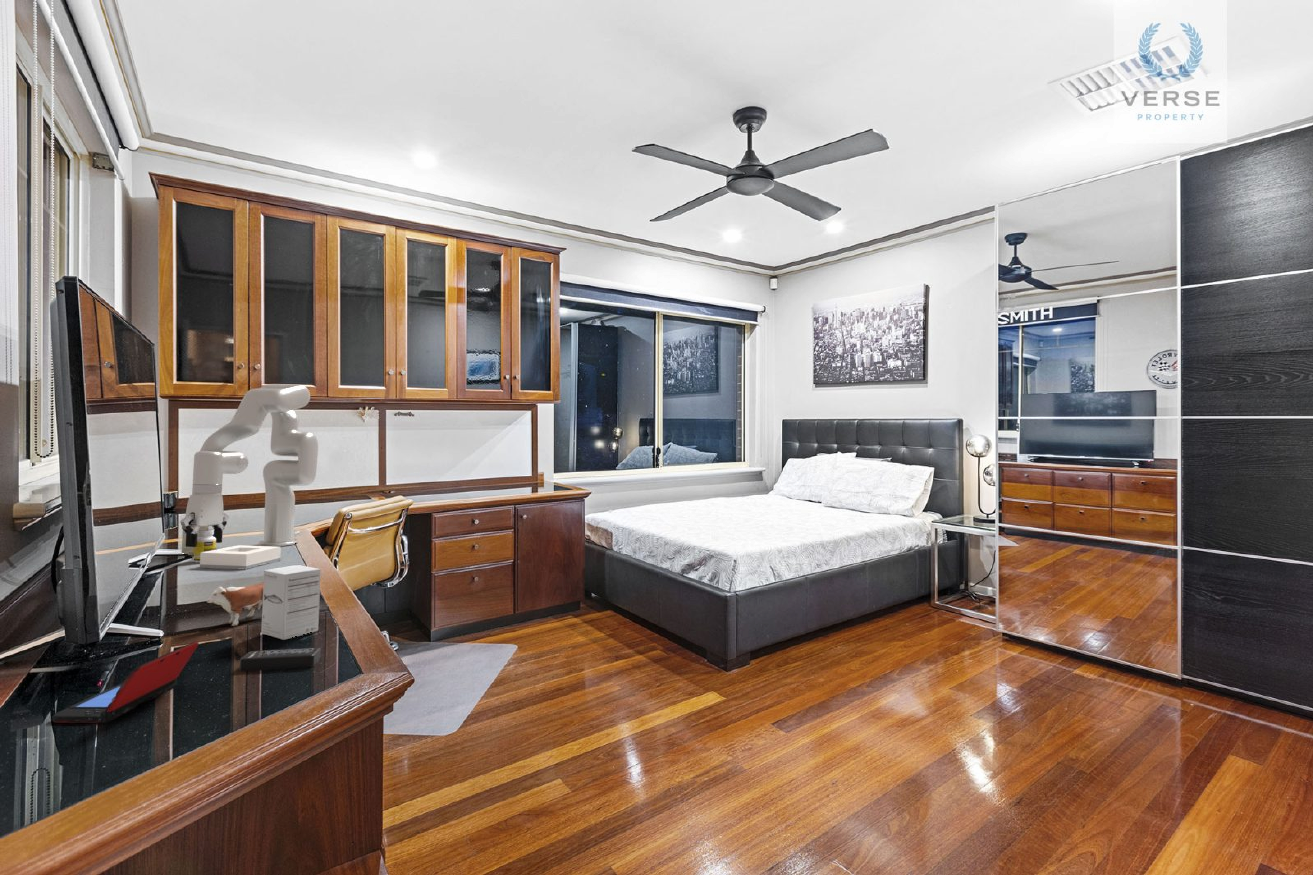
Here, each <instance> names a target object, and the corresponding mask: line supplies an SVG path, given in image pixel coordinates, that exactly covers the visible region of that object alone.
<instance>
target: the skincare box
mask: <svg viewBox="0 0 1313 875" xmlns="http://www.w3.org/2000/svg"><path fill="white" fill-rule="evenodd" d="M209 527H210V526H206V527H199V529H198V530H197V532H196V533H195V534H197V537H199V535H198V531H199V530H209ZM193 528H194V527H192V529H193ZM181 540H182V541H181V554H182V553H184V554H188V555H187V556H194V547H186V534H185V533H184V530H183V529H182V539H181Z"/></svg>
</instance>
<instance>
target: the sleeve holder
mask: <svg viewBox="0 0 1313 875" xmlns="http://www.w3.org/2000/svg"><path fill="white" fill-rule="evenodd" d="M281 549H282V546H260V545H243V544H242V545H240V544H238V545H233V546H226V547H223V548H218V549H216V550H211V551H206V552H201V553H200V563H199V568H200V569H223V570H224V569H226V570H239V569H238V568H250V569H252V568H251V567H254V566H257V565H259V564H263V563H270V562H274V563H276V562H275V561H278V562H280V561H281V559H282V558H281V556H282V553H281V552H282V550H281ZM279 560H280V561H279ZM270 564H271V563H270ZM254 568H255V567H254Z"/></svg>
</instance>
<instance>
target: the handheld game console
mask: <svg viewBox="0 0 1313 875" xmlns="http://www.w3.org/2000/svg"><path fill="white" fill-rule="evenodd" d="M198 646H199V642H198V641H197V640H196V641H192V642H190V643H188V644H185V645H183V646H181V647H179V648H177V649H174V650H172V651H170V652H168V653H166V654H163V655H161V656H158V657H157V658H154V659H152V660H150V661H147V662H145V663H143V664H141V665H139V666H136V667H134V669H133V670H131V672H129V673H128V675H127V676H126V678H125V680H124V681H123V682H122V683H119V684H117V685H114V686H112V687H110V688H108V689H105V690H102V691H100V692H98V693H97V694H94V695H93V696H90V697H88V698H85V699H83V700H82V701H79V702H77V703H75V704H72V705H70V706H68V707H67V708H65V709H63V710H61V711H58V712H56V713H55V714H53V715H52V722H54V723H55V724H56V723H58V724H59V723H60V724H62V723H63V724H64V723H65V724H66V723H67V724H75V723H76V724H81V723H84V724H88V723H89V724H90V723H92V724H95V723H96V724H97V723H99V724H107V723H109V722H112V721H113V720H115V719H117V718H119V717H120V716H122V715H125V714H126V713H128V712H130V711H132V710H133V709H136V707H138V706H139V705H141V704H143V703H146V702H148V701H150V700H153V699H155V698H157V697H159V696H161V695H163V694H165V693H167V692H169V691H171V690H174V689H175V688H176V687H177V678H178V677H179V676H180V674H181V672H182V671H183V669H184V668H185V666H186V665H187V663H188V662H189V660H190V659H191V657H192V655H193V654H194V653H195V651H196V650H197V648H198Z"/></svg>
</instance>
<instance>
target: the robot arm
mask: <svg viewBox="0 0 1313 875" xmlns="http://www.w3.org/2000/svg"><path fill="white" fill-rule="evenodd" d="M310 401H311V393H310V389H308V387H306V386H305V385H302V384H294V383H293V384H292V383H291V384H289V383H269V384H264V385H262V386H261V387H260V388H257V387H256V388H252V389H249V390H247V392H246V393H245V394H244V396H243V398H242V400H241V402H240V403H239V405H238V407H237V409H236V411H235V413H234V415H233V416H232V418H231V420H230V421H229V422H228V423H226V424H224V425H223V426H222V427H220V428H219V429H218V430H215V432H213V433H211V434H210V435H209V436H208V438H206V439H205V441H204V442H203V444H202V446H201V448H200V450H199V451H196V452H195V453H194V456H193V468H192V469H193V470H192V486H191V487H192V488H191V492H192V493H191V494H190V495H189V498H188V500H187V503H186V504H187V506H186V511H185V517H183V518H182V519H180V521H179V523H180V526H181V530H182V531H183V530H184V533H185V534H186V547H196V546H197V534H195V533H196V532H197V530H198V529H199V527H206V526H209V527H212V530H214V535H213V537H215V538H216V544H220V543H222V542H223V535H224V534H223V532H224V530H225V527H226V525H227V523H228V521H229V518H230V515H229V514H227V513H225V512H224V499H223V493H222V491H223V478H224V477H223V475H237V474H240V473H242V472H245V470H246V469H247V468H248V465H249V459H248V457H247V456H246V454H244V453H243V452H240V451H235V450H224V449H226V448H227V447H228V446H229V445H232V444H234V443H236V442H239V441H241V440H244V439H247V438H250V437H253V436H254V435H256V434H257V433H258V432H259V431H260V429H261V427H262V424H263V423H264V421H265V419H266V417H267V415H268V414H269V413H270V415H271V416H270V417H271V420H272V421H271V423H272V424H271V435H270V451H271V453H272V454H273V455H275V456H277V457H278V456H279V457H292V458H293V457H295V458H296V457H297V459H296V460H293V459H274V460H270V461H269V462H267V463H265V465H264V467H263V468H262V475H263V476H262V477H263V482H264V488H265V489H264V491H265V492H264V493H265V494H264V495H265V496H264V498H265V499H264V518H263V519H264V520H263V521H264V522H263V523H264V524H263V540H260V541H259V542H258V544H257V546H273V547H284V546H292V545H296V544H295V542H296V540H297V541H298V542H299V540H298V539H295V538H296V537H300V536H301V535H302V534H301V531H300V530H297V531H295V530H294V529H295V508H296V495H295V492H294V490H293V489H292V487H291V486H295V487H296V486H302V487H303V486H309V485H311V484H312V483H313V482H314V481H315V478H316V474H317V464H318V457H319V456H318V455H319V454H318V453H319V442H318V439H317V436H315V434H314V433H312V432H309V431H299V417H298V414H297V413H296V411H295V410H299V409H301V408H304V407H306V406H307V405H308V404H309V402H310ZM192 527H194V528H193V529H192Z"/></svg>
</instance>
